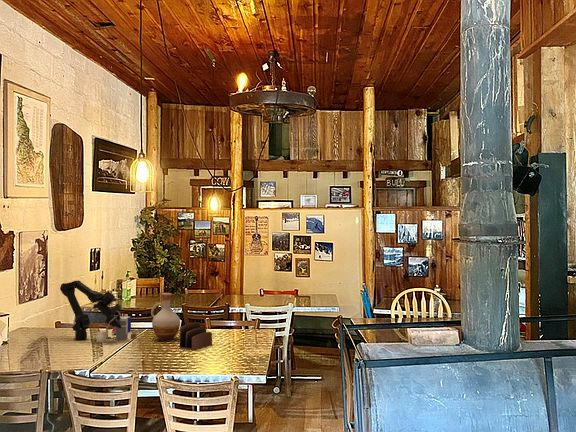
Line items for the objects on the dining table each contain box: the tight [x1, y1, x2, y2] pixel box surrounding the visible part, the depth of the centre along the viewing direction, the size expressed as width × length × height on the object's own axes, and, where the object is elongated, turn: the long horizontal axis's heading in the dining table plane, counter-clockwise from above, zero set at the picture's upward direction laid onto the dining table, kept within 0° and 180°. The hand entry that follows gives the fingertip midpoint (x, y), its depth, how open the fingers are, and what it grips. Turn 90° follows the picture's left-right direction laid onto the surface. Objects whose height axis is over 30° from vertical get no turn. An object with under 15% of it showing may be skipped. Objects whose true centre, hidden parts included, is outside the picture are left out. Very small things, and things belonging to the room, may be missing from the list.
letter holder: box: [179, 321, 213, 351], centre depth 343 cm, size 10×20×14 cm, turn 151°
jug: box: [150, 292, 181, 342], centre depth 364 cm, size 20×18×30 cm
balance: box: [95, 324, 116, 340], centre depth 367 cm, size 15×5×10 cm, turn 122°
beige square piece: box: [96, 330, 107, 343], centre depth 358 cm, size 6×6×6 cm
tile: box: [113, 338, 131, 344], centre depth 359 cm, size 8×8×1 cm
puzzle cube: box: [111, 316, 132, 334], centre depth 391 cm, size 10×10×10 cm
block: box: [130, 332, 138, 340], centre depth 367 cm, size 3×3×3 cm
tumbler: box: [115, 319, 129, 341], centre depth 359 cm, size 6×6×12 cm
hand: (122, 326), depth 359 cm, fingers open, 9 cm apart
